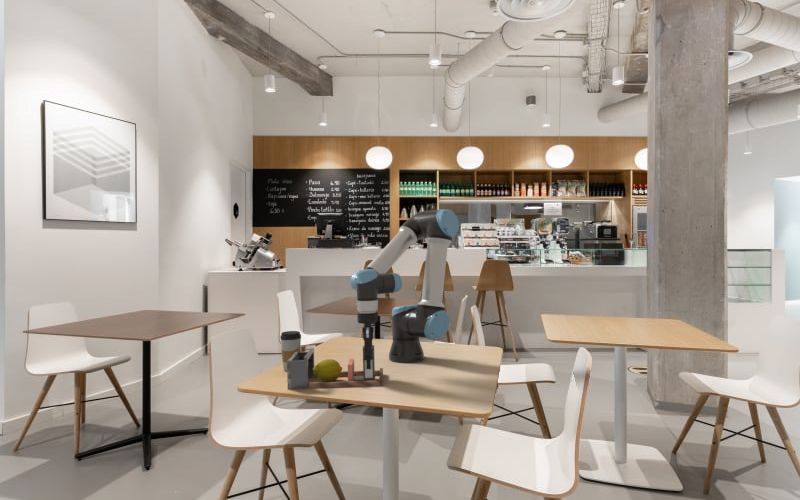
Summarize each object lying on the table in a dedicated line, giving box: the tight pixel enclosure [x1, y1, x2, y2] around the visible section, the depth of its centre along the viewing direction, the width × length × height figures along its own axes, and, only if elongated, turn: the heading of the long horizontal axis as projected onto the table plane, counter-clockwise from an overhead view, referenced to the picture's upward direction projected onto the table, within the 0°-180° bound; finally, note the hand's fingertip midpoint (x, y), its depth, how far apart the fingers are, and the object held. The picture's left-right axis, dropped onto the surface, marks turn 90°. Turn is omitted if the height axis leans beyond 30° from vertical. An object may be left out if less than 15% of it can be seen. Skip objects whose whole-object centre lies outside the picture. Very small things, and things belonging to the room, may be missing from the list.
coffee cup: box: [279, 330, 302, 372], centre depth 193 cm, size 8×8×15 cm
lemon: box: [313, 358, 343, 382], centre depth 174 cm, size 11×8×8 cm
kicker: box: [347, 344, 376, 381], centre depth 174 cm, size 9×10×12 cm
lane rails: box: [307, 367, 384, 389], centre depth 174 cm, size 26×15×2 cm, turn 92°
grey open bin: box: [286, 347, 315, 389], centre depth 174 cm, size 7×16×11 cm, turn 2°
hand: (369, 375), depth 174 cm, fingers closed on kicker, 4 cm apart
